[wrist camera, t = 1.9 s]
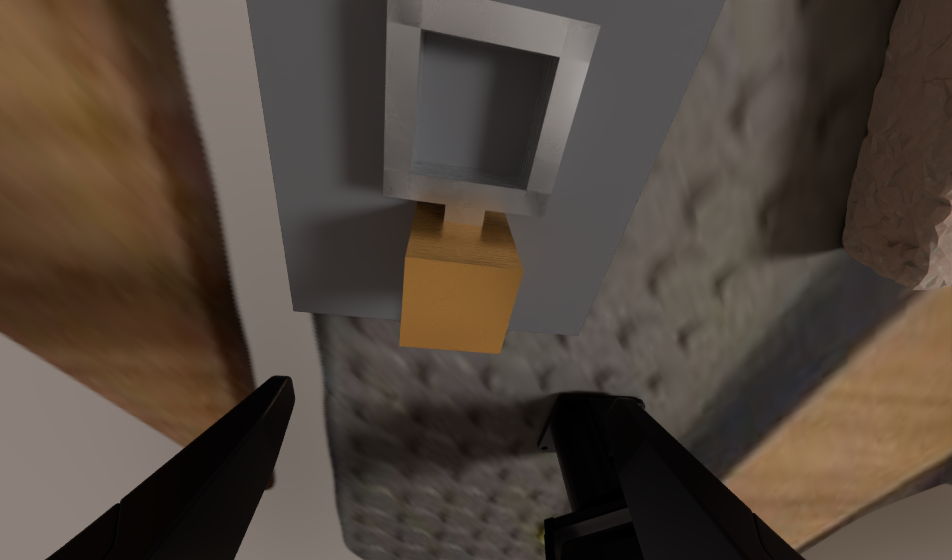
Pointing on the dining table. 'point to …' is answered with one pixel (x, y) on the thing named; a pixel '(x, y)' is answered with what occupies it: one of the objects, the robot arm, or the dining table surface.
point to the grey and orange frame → (473, 170)
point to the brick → (908, 156)
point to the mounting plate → (462, 144)
